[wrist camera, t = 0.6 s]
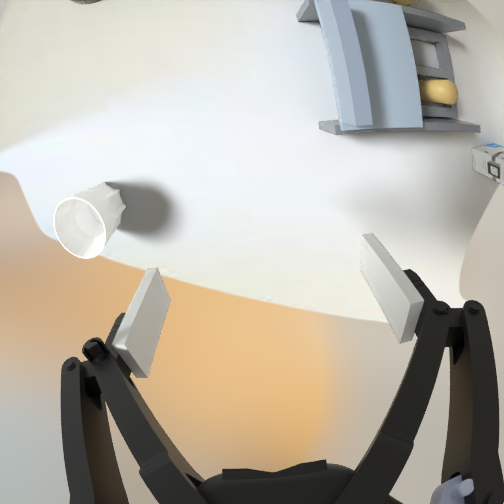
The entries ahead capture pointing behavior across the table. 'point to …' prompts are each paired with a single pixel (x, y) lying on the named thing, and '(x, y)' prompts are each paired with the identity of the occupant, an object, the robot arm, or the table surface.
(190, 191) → the table surface
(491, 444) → the robot arm
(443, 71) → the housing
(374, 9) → the lid
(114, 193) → the cup
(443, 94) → the peg
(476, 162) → the ink box
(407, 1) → the cylinder
